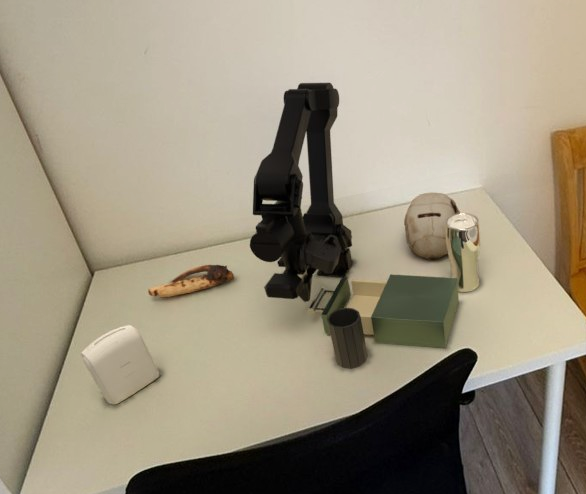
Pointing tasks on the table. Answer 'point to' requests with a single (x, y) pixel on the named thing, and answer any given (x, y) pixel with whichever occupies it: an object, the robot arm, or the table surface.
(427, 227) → the coin bank
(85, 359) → the photo printer
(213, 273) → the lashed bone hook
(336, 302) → the drawer
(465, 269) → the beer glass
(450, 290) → the green box
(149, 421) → the table surface
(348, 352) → the black cup
